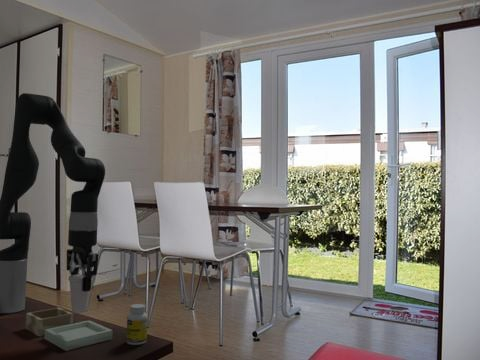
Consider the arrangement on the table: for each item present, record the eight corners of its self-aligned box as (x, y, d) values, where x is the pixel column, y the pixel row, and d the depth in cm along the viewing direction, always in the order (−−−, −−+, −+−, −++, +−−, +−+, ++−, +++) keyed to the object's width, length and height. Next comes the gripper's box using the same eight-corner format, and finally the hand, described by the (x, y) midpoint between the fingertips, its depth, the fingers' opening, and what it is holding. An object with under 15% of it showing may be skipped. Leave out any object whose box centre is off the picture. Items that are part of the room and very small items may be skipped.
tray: (44, 338, 112) (44, 329, 112) (88, 328, 122) (89, 320, 122) (65, 350, 104) (66, 341, 104) (112, 339, 113) (112, 330, 113)
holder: (25, 328, 120) (26, 313, 120) (58, 322, 127) (58, 307, 128) (39, 336, 114) (39, 319, 114) (72, 329, 121) (73, 313, 121)
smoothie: (83, 315, 109) (85, 262, 110) (61, 313, 111) (64, 261, 111) (96, 309, 116) (98, 259, 116) (75, 307, 117) (78, 258, 118)
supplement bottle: (122, 343, 110) (123, 306, 110) (133, 337, 115) (135, 302, 115) (139, 346, 108) (140, 309, 108) (150, 340, 113) (151, 304, 114)
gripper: (58, 227, 116) (55, 286, 115) (82, 230, 107) (79, 295, 106) (83, 226, 122) (80, 283, 121) (108, 229, 112) (106, 291, 111)
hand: (80, 288), depth 113 cm, fingers closed on smoothie, 6 cm apart
